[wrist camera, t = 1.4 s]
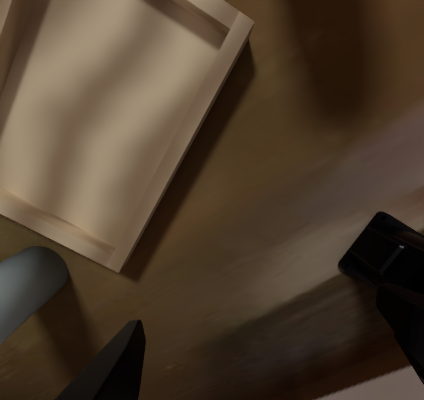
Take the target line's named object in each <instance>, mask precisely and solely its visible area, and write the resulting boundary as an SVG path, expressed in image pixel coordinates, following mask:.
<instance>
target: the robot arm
mask: <svg viewBox="0 0 424 400" xmlns="http://www.w3.org/2000/svg"><path fill="white" fill-rule="evenodd" d="M381 216H383V218H382V219H381ZM345 263H346V265H345V266H343V265H344V264H345ZM339 267H340V268H342V269H343V270H344V271H346V272H348V273H349V274H351V275H353V276H355V277H356V278H358V279H360V280H362V281H363V282H365V283H367V284H369V285H371V286H372V287H374V288H376V289H377V293H376V306H377V308H378V310H379V311H380V313H381V314H382V316H383V317H384V318H385V320H386V321H387V322H388V324H389V325H390V326H391V328H392V329H393V330H394V332H395V334H394V337H395V339H396V340H397V342H398V344H399V345H400V347H401V349H402V350H403V352H404V353H405V355H406V357H407V358H408V360H409V362H410V363H411V365H412V367H413V368H414V370H415V371H416V373H417V375H418V376H419V378H420V380H421V381H422V383H423V384H424V236H423V235H421V234H420V233H418V232H416V231H415V230H413V229H412V228H410V227H408V226H407V225H405V224H404V223H402V222H400V221H399V220H397V219H396V218H394V217H392V216H391V215H389V214H387V213H385V212H382V211H381V212H378V213H377V214H376V215H375V216H374V217H373V219H372V220H371V221H370V223H369V224H368V225H367V226H366V228H365V229H364V230H363V232H362V233H361V234H360V236H359V237H358V238H357V239H356V241H355V242H354V243H353V245H352V246H351V247H350V248H349V250H348V251H347V252H346V254H345V255H344V256H343V257H342V259H341V260H340V261H339ZM145 344H146V339H145V334H144V329H143V325H142V322H141V320H132V321H129V322H128V323H127V324H126V325H125V326H124V327H123V328H122V329H121V330H120V331H119V332H118V333H117V334H116V335H115V336H114V337H113V339H112V340H111V341H110V342H109V343H108V344H107V345H106V346H105V347H104V348H103V349H102V350H101V351H100V352H99V353H98V354H97V355H96V356H95V357H94V359H93V360H92V361H91V362H90V363H89V364H88V365H87V366H86V367H85V368H84V369H83V370H82V371H81V372H80V373H79V374H78V375H77V376H76V377H75V378H74V380H73V381H72V382H71V383H70V384H69V385H68V386H67V387H66V388H65V389H64V390H63V391H62V392H61V393H60V394H59V395H58V396H57V397H56V398H55V400H138V396H139V391H140V384H141V376H142V368H143V360H144V353H145Z"/></svg>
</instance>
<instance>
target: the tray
mask: <svg viewBox="0 0 424 400" xmlns="http://www.w3.org/2000/svg"><path fill="white" fill-rule="evenodd" d="M253 25H254V21H253V20H251V19H250V18H249V17H247V16H246V15H244V14H243V13H241V12H240V11H238V10H237V9H235V8H234V7H232V6H231V5H229V4H228V3H227V2H225V1H224V0H0V214H2V215H4V216H6V217H8V218H10V219H12V220H14V221H16V222H18V223H20V224H22V225H24V226H26V227H28V228H30V229H32V230H34V231H36V232H38V233H40V234H42V235H44V236H46V237H48V238H50V239H52V240H54V241H56V242H58V243H60V244H62V245H64V246H66V247H68V248H70V249H72V250H74V251H76V252H78V253H80V254H82V255H84V256H86V257H88V258H90V259H92V260H94V261H96V262H98V263H100V264H102V265H104V266H106V267H108V268H110V269H112V270H114V271H116V272H118V273H119V272H120V270H121V269H122V268H123V266H124V265H125V264H126V262H127V261H128V260H129V258H130V256H131V255H132V253H133V251H134V249H135V247H136V245H137V244H138V242H139V240H140V238H141V236H142V234H143V233H144V231H145V229H146V227H147V225H148V223H149V222H150V220H151V218H152V216H153V214H154V212H155V210H156V209H157V207H158V205H159V203H160V201H161V199H162V198H163V196H164V194H165V192H166V190H167V188H168V187H169V185H170V183H171V181H172V179H173V177H174V176H175V174H176V172H177V170H178V168H179V166H180V165H181V163H182V161H183V159H184V157H185V155H186V154H187V152H188V150H189V148H190V146H191V144H192V143H193V141H194V139H195V137H196V135H197V133H198V132H199V130H200V128H201V126H202V124H203V122H204V121H205V119H206V117H207V115H208V113H209V111H210V109H211V108H212V106H213V104H214V102H215V100H216V98H217V97H218V95H219V93H220V91H221V89H222V87H223V86H224V84H225V82H226V80H227V78H228V76H229V75H230V73H231V71H232V69H233V67H234V65H235V64H236V62H237V60H238V58H239V56H240V54H241V53H242V51H243V49H244V47H245V45H246V43H247V42H248V40H249V37H250V34H251V31H252V28H253Z"/></svg>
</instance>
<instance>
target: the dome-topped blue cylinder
mask: <svg viewBox="0 0 424 400" xmlns="http://www.w3.org/2000/svg"><path fill="white" fill-rule="evenodd" d="M67 277H68V270H67V266H66V264H65V262H64V260H63V259H62V258H61V257H60V255H58V254H57V253H56V252H55V251H53V250H51V249H49V248H46V247H42V246H33V247H29V248H26V249H24V250H22V251H20V252H19V253H17V254H15V255H13V256H11V257H9V258H7V259H5V260H4V261H2V262H0V344H1V343H2V342H3V341H4V340H5V339H7V338H8V337H9V336H10V335H11V334H12V333H13V332H14V331H15V330H16V329H17V328H19V327H20V326H21V325H22V324H23V323H24V322H25V321H26V320H27V319H28V318H29V317H30V316H32V315H33V314H34V313H35V312H36V311H37V310H38V309H39V308H40V307H41V306H42V305H44V304H45V303H46V302H47V301H48V300H49V299H50V298H51V297H52V296H53V295H54V294H55V293H57V292H58V291H59V290H60V289H61V288H62V287H63V286H64V285H65V283H66V281H67Z"/></svg>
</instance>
